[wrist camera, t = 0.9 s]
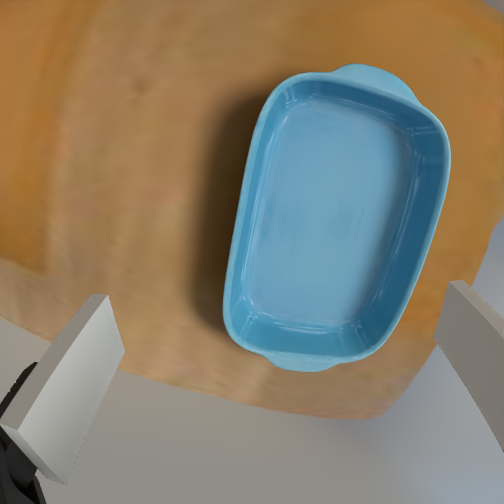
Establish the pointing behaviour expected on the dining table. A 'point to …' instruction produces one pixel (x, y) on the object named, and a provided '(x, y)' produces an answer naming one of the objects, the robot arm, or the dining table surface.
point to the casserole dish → (333, 217)
